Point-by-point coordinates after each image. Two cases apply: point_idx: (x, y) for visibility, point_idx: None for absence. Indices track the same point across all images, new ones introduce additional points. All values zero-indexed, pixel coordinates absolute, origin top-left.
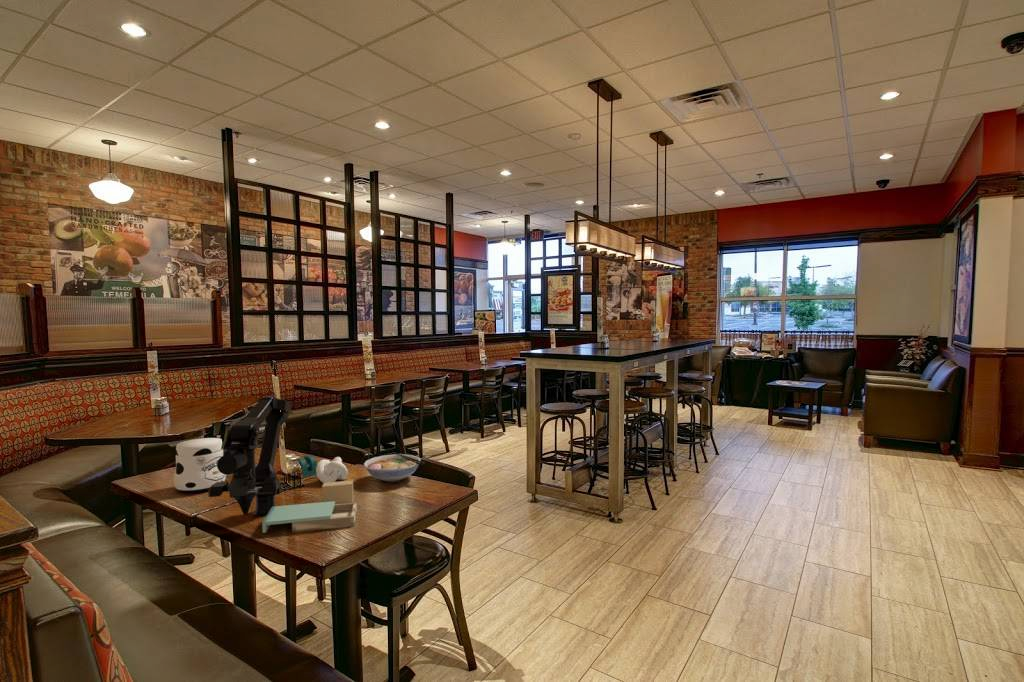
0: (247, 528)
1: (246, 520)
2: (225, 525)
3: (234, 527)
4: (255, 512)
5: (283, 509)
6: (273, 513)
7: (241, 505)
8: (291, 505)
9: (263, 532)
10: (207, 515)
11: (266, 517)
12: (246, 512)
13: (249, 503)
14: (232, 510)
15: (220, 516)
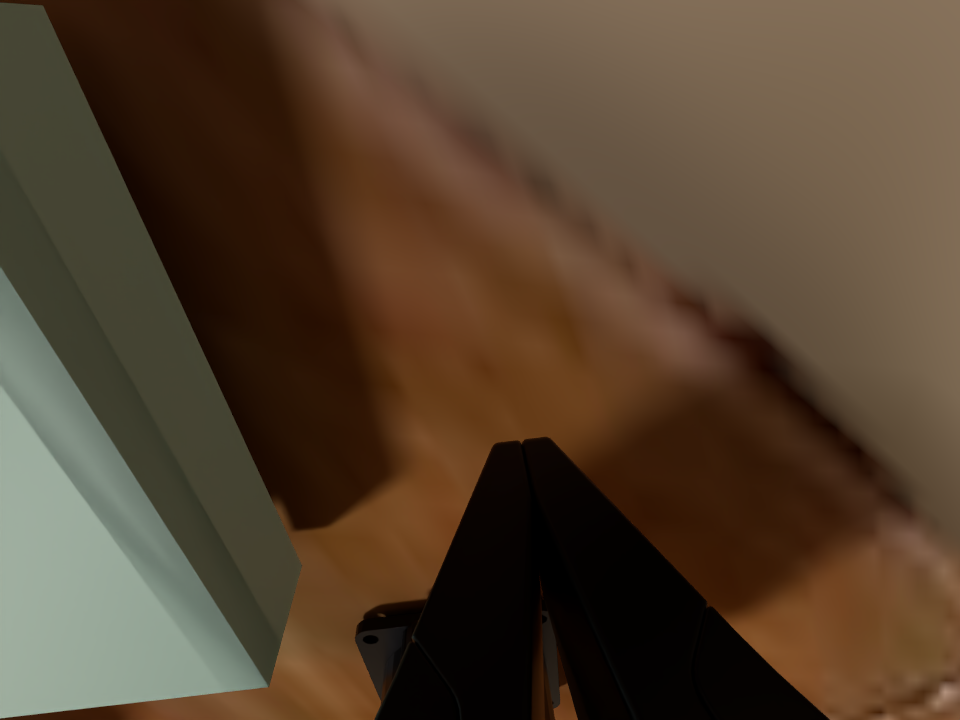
0: (485, 332)
1: None
2: (776, 438)
3: (662, 378)
4: (543, 644)
5: (2, 616)
6: (40, 499)
7: (656, 613)
8: (3, 706)
9: (20, 8)
10: (951, 627)
11: (14, 331)
12: (497, 468)
13: (394, 692)
14: None
15: (845, 608)
